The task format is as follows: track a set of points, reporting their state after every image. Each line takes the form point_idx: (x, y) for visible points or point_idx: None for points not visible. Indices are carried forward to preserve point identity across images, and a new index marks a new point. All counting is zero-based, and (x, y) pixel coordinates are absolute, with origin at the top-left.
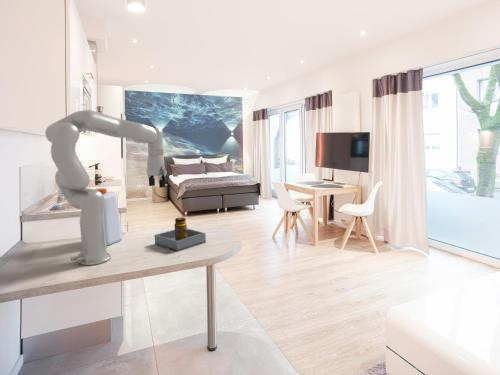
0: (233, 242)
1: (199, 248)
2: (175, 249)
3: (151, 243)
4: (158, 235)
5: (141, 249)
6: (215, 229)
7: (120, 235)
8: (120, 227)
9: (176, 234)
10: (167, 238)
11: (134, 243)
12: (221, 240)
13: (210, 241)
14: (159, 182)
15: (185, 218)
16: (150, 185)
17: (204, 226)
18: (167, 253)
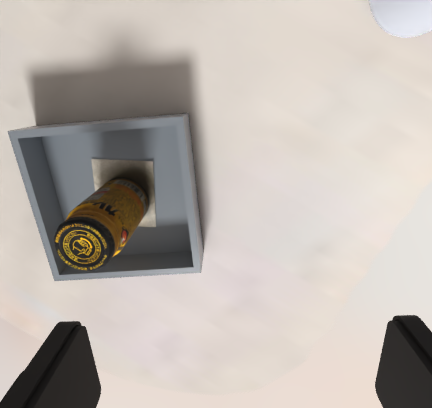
0: (14, 314)
1: (23, 205)
2: (42, 125)
3: (214, 109)
4: (159, 125)
5: (167, 30)
6: (190, 367)
7: (383, 10)
8: (418, 8)
9: (105, 188)
10: (80, 127)
11: (276, 51)
12: (59, 305)
13: None
14: (18, 398)
15: (71, 266)
16: (389, 329)
17: (256, 368)
18: (41, 86)
